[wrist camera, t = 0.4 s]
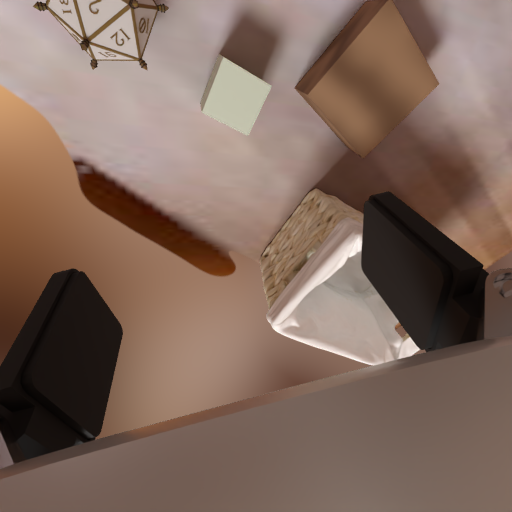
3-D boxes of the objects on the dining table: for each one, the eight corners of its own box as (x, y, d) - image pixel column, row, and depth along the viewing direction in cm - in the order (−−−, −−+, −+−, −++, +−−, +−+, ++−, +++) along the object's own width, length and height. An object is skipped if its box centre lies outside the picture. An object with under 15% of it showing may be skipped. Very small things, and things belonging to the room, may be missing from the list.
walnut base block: (364, 1, 30) (390, -3, 26) (411, 78, 35) (439, 83, 31) (293, 87, 34) (307, 95, 30) (345, 145, 39) (363, 158, 35)
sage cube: (219, 53, 30) (223, 56, 26) (261, 79, 32) (271, 86, 28) (200, 103, 33) (201, 112, 29) (241, 124, 35) (247, 136, 31)
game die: (101, -4, 29) (-4, -124, 19) (184, -6, 28) (117, -137, 18) (97, 93, 30) (-6, 25, 20) (178, 95, 29) (110, 23, 19)
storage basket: (245, 259, 46) (264, 335, 35) (311, 170, 40) (362, 227, 28) (350, 304, 57) (392, 374, 45) (416, 240, 50) (485, 302, 39)
